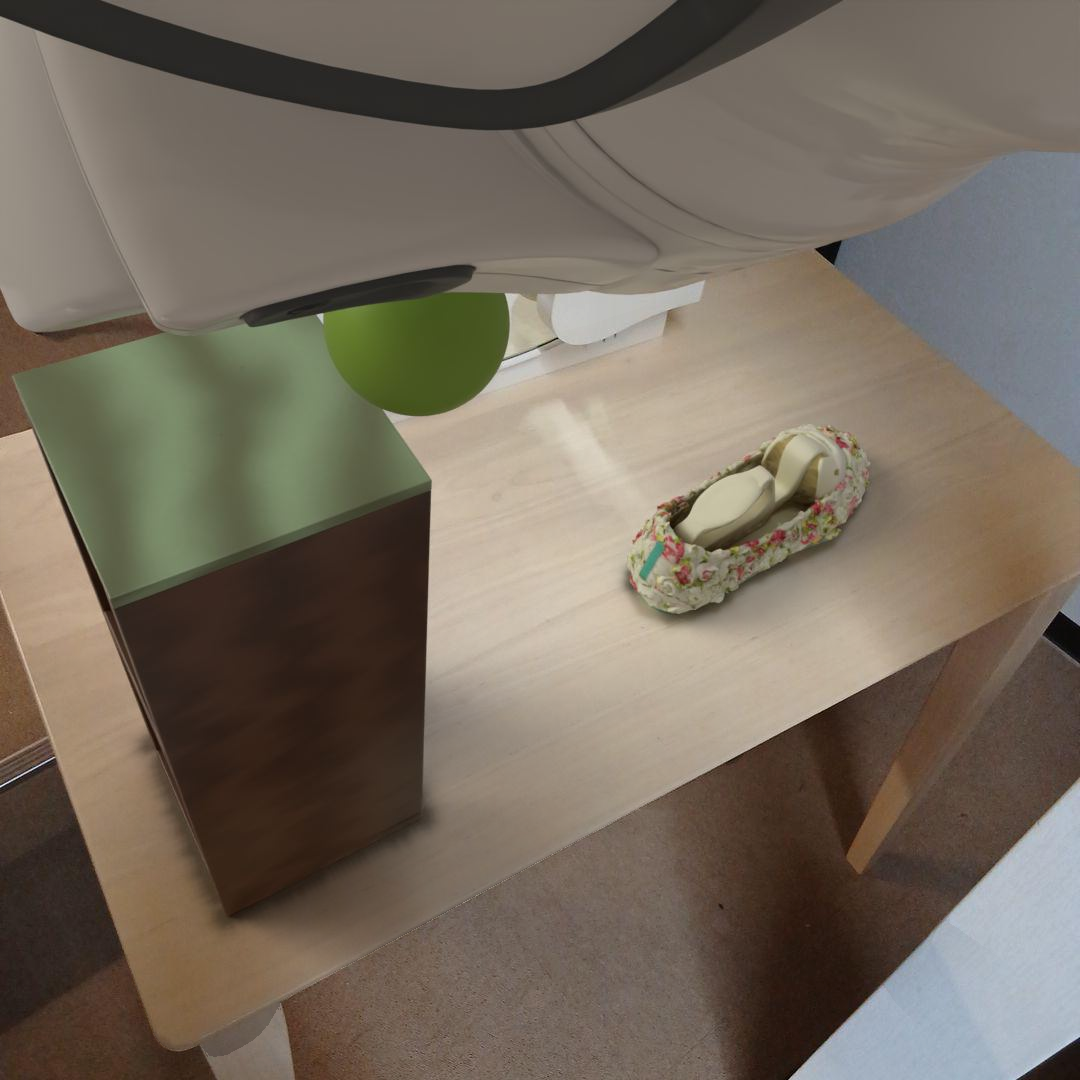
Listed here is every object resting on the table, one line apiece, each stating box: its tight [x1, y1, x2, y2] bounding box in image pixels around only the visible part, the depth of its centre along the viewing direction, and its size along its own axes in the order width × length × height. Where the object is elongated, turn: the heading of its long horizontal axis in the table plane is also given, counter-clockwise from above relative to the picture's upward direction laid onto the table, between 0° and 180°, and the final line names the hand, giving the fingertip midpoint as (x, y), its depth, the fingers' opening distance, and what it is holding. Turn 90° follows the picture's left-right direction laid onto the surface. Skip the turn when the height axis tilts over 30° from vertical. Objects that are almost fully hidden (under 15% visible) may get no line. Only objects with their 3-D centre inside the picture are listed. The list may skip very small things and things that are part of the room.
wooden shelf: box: [11, 314, 433, 917], centre depth 52 cm, size 12×12×30 cm
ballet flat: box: [625, 422, 872, 615], centre depth 77 cm, size 9×25×8 cm, turn 134°
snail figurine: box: [322, 292, 511, 417], centre depth 29 cm, size 5×6×12 cm
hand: (391, 198), depth 29 cm, fingers closed on snail figurine, 5 cm apart
